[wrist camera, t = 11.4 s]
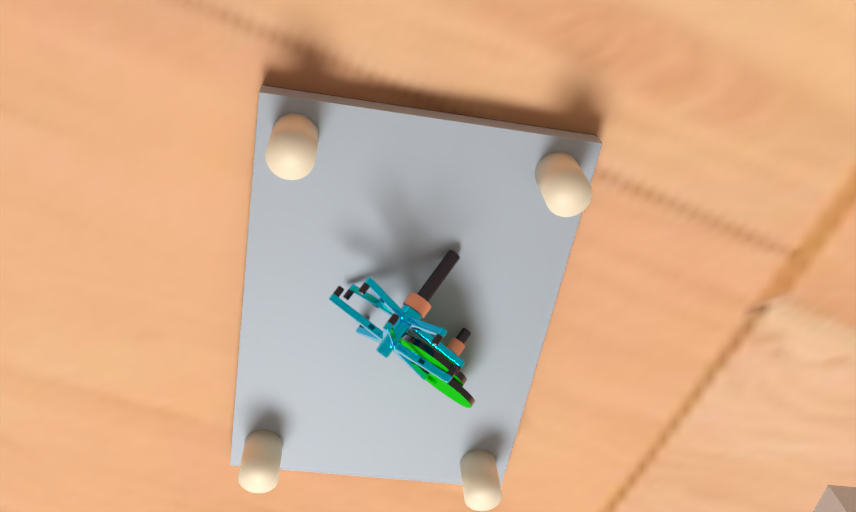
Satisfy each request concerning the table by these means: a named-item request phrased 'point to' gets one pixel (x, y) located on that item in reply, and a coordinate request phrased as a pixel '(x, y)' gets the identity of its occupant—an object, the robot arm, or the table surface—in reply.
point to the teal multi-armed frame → (408, 319)
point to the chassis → (397, 285)
